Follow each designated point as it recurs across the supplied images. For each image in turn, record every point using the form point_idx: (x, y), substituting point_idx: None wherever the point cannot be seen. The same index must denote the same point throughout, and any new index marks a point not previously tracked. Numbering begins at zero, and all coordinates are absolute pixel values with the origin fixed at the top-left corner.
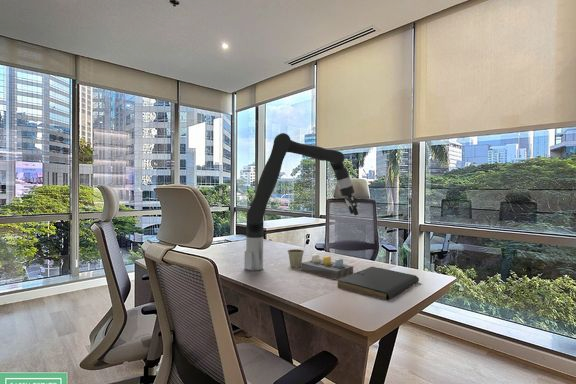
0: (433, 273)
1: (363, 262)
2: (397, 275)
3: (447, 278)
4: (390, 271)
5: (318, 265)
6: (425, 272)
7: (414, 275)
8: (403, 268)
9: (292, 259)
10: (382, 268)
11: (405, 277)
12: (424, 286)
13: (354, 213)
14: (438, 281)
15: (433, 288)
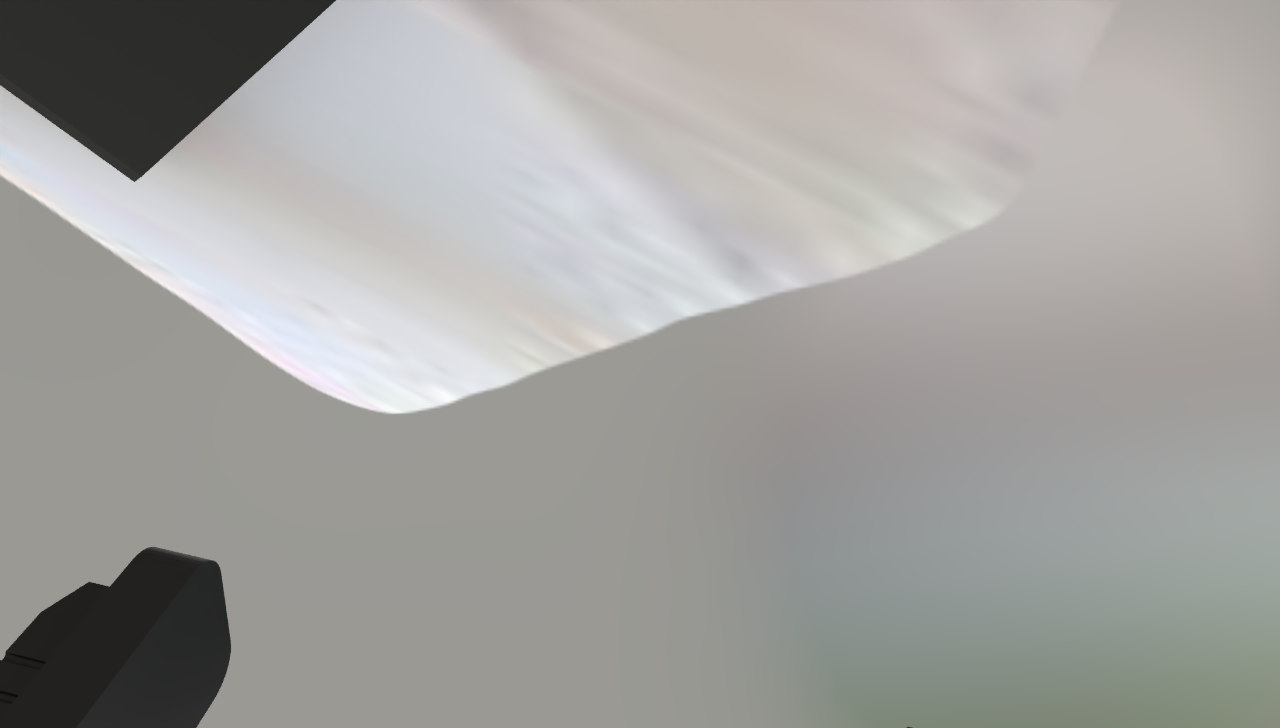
0: (466, 387)
1: (1045, 43)
2: (53, 16)
3: (334, 380)
4: (203, 30)
5: None
6: (494, 362)
7: (133, 172)
8: (638, 297)
9: None
10: (321, 9)
11: (10, 54)
12: (38, 127)
13: (99, 620)
14: (232, 292)
15: (9, 157)
